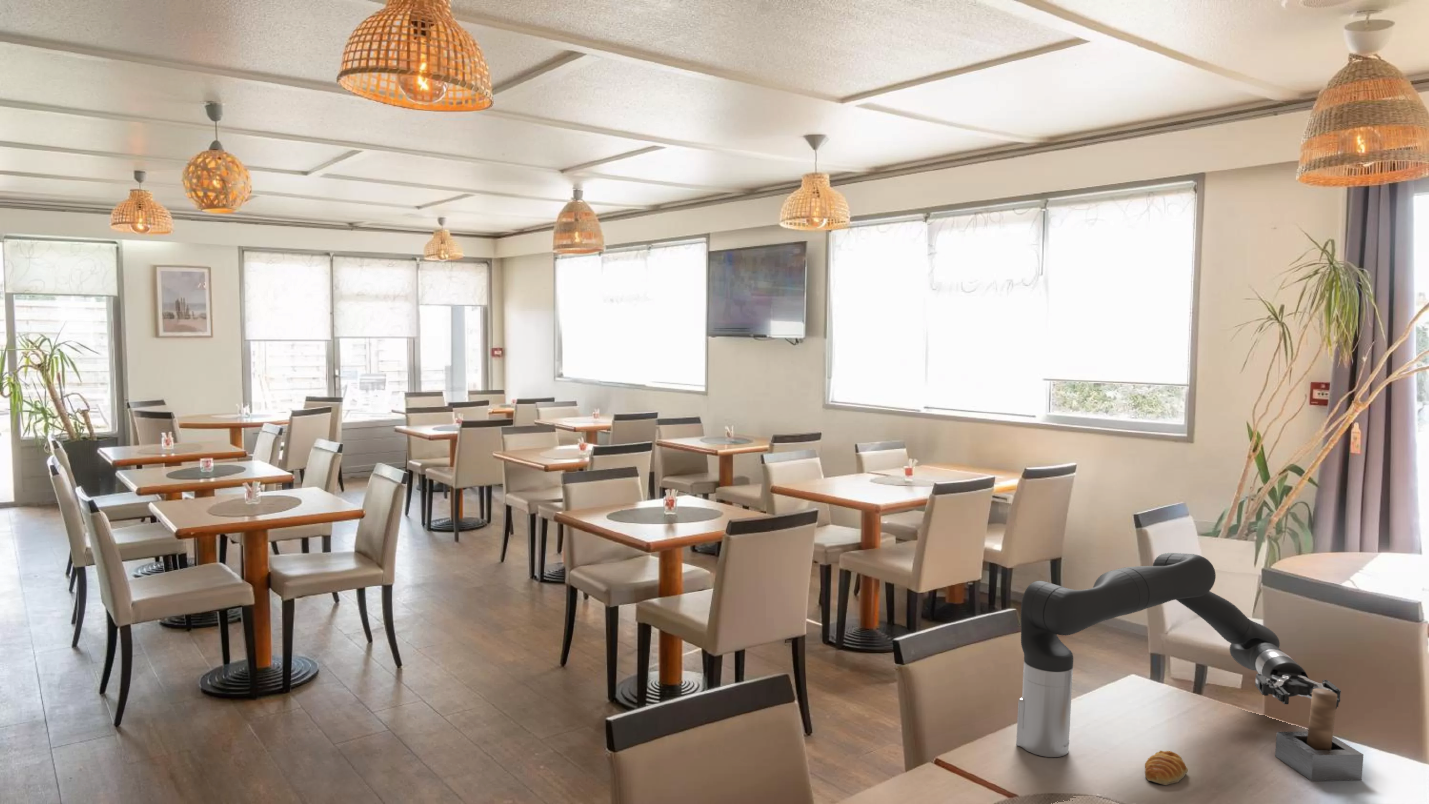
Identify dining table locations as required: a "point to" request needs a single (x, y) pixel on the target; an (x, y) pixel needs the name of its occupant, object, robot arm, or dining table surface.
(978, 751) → the dining table surface
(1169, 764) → the pastry
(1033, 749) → the robot arm
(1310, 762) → the socket block
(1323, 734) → the peg
